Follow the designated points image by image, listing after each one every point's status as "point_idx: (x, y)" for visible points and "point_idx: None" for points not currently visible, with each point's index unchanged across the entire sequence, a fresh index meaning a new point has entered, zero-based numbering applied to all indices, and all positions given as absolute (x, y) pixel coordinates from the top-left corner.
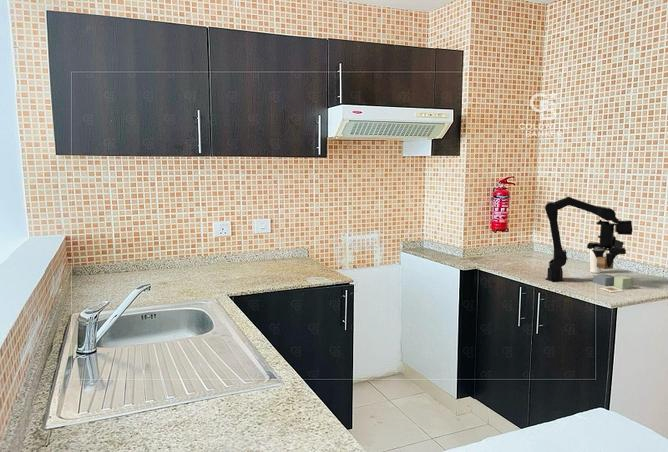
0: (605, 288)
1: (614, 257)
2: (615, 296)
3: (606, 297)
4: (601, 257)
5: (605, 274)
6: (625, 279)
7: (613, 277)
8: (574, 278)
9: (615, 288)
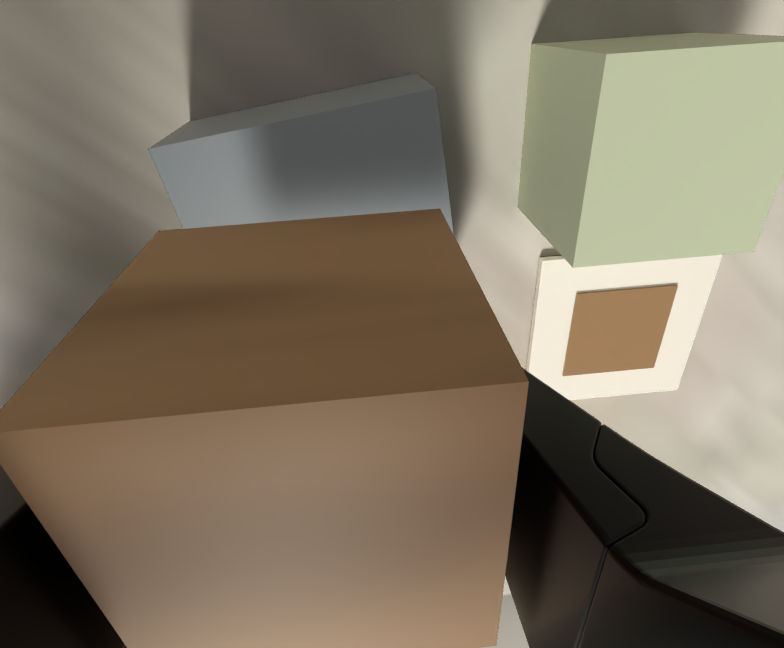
0: (570, 373)
1: (732, 532)
2: (771, 426)
3: (742, 491)
4: (235, 631)
5: (211, 152)
6: (765, 194)
7: (443, 160)
8: (18, 381)
9: (614, 273)
